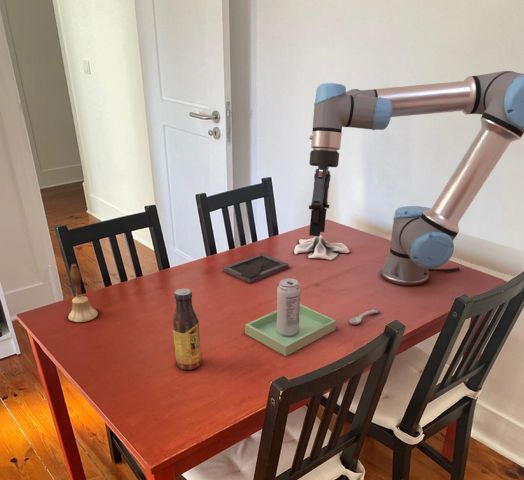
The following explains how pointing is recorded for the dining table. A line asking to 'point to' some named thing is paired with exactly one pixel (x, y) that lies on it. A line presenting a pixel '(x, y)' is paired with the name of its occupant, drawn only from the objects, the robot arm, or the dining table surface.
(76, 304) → the hand bell
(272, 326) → the tray
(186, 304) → the sauce bottle
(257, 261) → the picture frame
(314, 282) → the dining table surface
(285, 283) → the energy drink can
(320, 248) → the cloth
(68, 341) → the dining table surface
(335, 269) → the dining table surface
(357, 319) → the spoon
